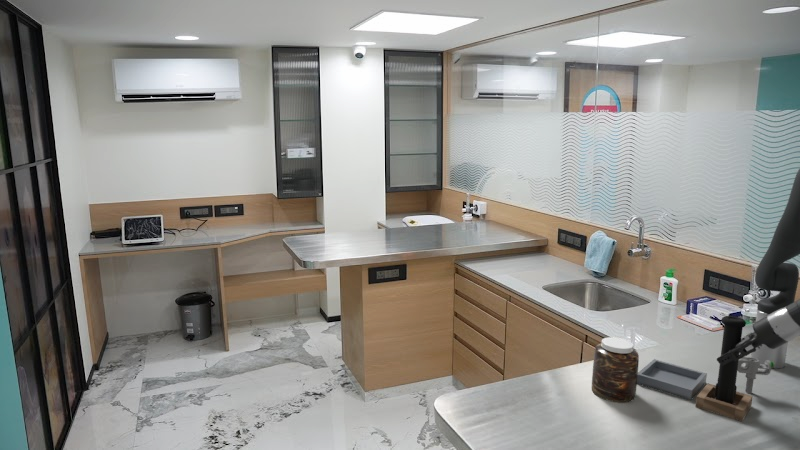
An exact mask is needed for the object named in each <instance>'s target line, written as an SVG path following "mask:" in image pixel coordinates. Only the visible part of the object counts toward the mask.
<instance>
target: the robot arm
mask: <svg viewBox="0 0 800 450" xmlns="http://www.w3.org/2000/svg"><path fill="white" fill-rule="evenodd" d="M796 172H797V173H796V175H795V177H794V181H793V184H792V188H791V190H790V194H789V197H788V201H787V202H786V203H787V204H786V206H785V207H784V211H783V213H782V216H781V217H780V219H779V221H778V224H777V225H776V227H775V231H774V234H773V236H772V239H771V241H770V244H769V246H768V248H767V249H766V252H765V254H764V255H763V257H762V259H761V260H760V261H759V264H758V266H757V269H756V270H755V271H756V272H755V274H754V275H755V276H754V280H755V281H754V282H755V284H756V287H758V288H759V289H760V290H763V291H768V292H769V291H770V292H771V291H772V292H778V294H776V295H773V296H770V297H766V298H762V299H760V300H759V301H758V303H757V310H756V316H755V322H754V323H752V329H753V332H750V333H748V334H746V335H744V336H743V337H741V341H740V342H739V343H737V344H736V345H735V348H733V349H732V350H729V352H727V353H725V354H724V355H722V356H721V355H720V356H718V357H717V358H716V361H717V362H718V364H719V366H720V365H722V366H723V365H725V364H727V363H729V362H731V361H733V360H735V361H738V360H739V359H741V358H743V357H747V356H749V355H750V354H751V356H750V358H755V359H758V360H759V363H760V364H764V363H765V361H766V360H769V361H770V362H773V364H774V366H773V367H771V369H773V368H774V369H783V368H785V366H786V361H787V360H786V358H787V351H788V345H789V342H791V341H793V340H796V339H797V338H798V337H800V298H798V299H797V300H795V299H796V293H797V289H798V284H799V279H800V272H799V271H800V270H799V267H798V265H796V264H795V263H789V262H787V261H789V260H791V259H793V258H795V257H798V256H800V168H799V169H798V171H796ZM736 351H739V352H740V353H739V355H738V356H737V355H736V354H735V352H736Z"/></svg>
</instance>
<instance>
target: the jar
mask: <svg viewBox="0 0 800 450" xmlns="http://www.w3.org/2000/svg"><path fill="white" fill-rule="evenodd" d="M594 348H595V349H594V353H593V354H594V355H593V361H592V363H593V365H592V377H591V392H592V393H593V394H594V395H596V396H597V397H599V398H600V399H603V400H606V401H609V402H614V403H630V402H632V401H634V400H635V399H636V397H637V395H636V394H637V387H638V386H637V385H638V384H637V377H638V372H639V364H640V363H639V361H640V360H639V359H640V358H639V353H638V351H637V350H636V349H634V344H633V343H632V342H631V341H630V340H628V339H625V338H620V337H613V336H612V337H611V336H610V337H604V338H602V339H601V343H599V344H597V345H596V346H595V347H594Z"/></svg>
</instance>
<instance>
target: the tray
mask: <svg viewBox="0 0 800 450" xmlns="http://www.w3.org/2000/svg"><path fill="white" fill-rule="evenodd" d="M707 375H708V373H706V372H703V371H700V370H699V371H698V370H695V369H692V368H688V367H685V366H681V365H676V364H674V363H669V362H667V361H662V360H659V359H656V358H654V359H652V360H651V361H650V362H649V363H648V364H647V365H645V366H644V367H643V368H642V369H640V370H639V371H638V377H637V385H640V386H643V387H646V388H648V389H649V388H650V389H653V390H656V391H660V392H662V393H665V394H668V395H671V396H674V397H678V398H681V399H685V400H688V401H692V400H693V399H694V398H695V396H697V395H698V394H699V393H700V392H699V391H701V390H702V389H703V388H704V387H705V385H706V384H707ZM704 384H705V385H704ZM692 398H693V399H692Z"/></svg>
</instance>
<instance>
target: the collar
mask: <svg viewBox="0 0 800 450" xmlns="http://www.w3.org/2000/svg"><path fill="white" fill-rule="evenodd" d="M715 387H716V384H711V383H706V384H705V385H704V386H703V387H702V389H701V390H700V392H698V393H697V395H696V399H695V400H696V401H695V408H698V409H701V410H704V411H707V412H710V413H713V414H717V415H720V416H722V417H723V416H724V417H727V418H729V419H733V420H737V421H740V422H743V420H744V419H745V418H746V416H747V414H748V413H749V411H750V409H751V408H752V403H753V395H752V394H748V393H744V392H740V391H737V390H736V397H735V398H734V401H733V404H729V403H726V402H723V401H719V400H716V396H715Z"/></svg>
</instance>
